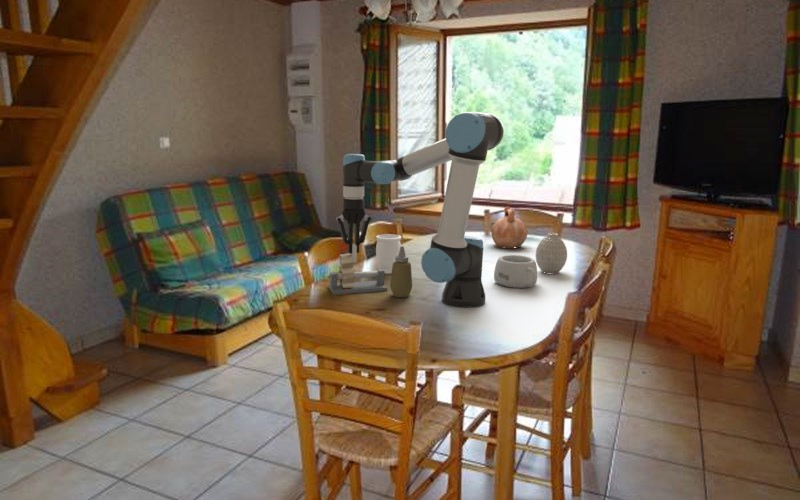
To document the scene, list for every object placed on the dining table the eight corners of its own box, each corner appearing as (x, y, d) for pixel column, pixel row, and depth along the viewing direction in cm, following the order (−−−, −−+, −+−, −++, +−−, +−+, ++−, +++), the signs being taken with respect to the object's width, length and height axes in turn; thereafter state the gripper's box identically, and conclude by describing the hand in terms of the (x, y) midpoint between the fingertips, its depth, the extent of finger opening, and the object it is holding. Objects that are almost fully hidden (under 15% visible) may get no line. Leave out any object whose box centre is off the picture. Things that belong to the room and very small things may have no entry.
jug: (530, 250, 279) (532, 210, 275) (493, 250, 279) (495, 210, 275) (522, 243, 297) (525, 205, 293) (488, 242, 297) (490, 204, 293)
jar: (397, 275, 229) (398, 239, 226) (373, 273, 231) (373, 237, 228) (402, 269, 239) (403, 234, 236) (379, 267, 241) (379, 233, 238)
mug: (485, 279, 226) (486, 255, 224) (520, 276, 232) (521, 252, 230) (516, 294, 207) (518, 268, 205) (553, 290, 213) (555, 264, 211)
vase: (528, 272, 239) (531, 233, 235) (543, 266, 248) (546, 229, 245) (556, 278, 231) (559, 238, 227) (570, 272, 240) (574, 233, 236)
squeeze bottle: (404, 300, 197) (406, 250, 193) (385, 296, 202) (386, 247, 198) (416, 294, 204) (417, 246, 200) (397, 290, 208) (398, 243, 204)
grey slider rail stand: (387, 290, 208) (387, 273, 207) (333, 294, 202) (333, 277, 200) (379, 283, 217) (379, 266, 216) (327, 287, 211) (327, 270, 209)
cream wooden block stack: (354, 287, 205) (354, 257, 203) (343, 288, 204) (343, 257, 202) (349, 282, 212) (349, 253, 209) (338, 282, 210) (338, 253, 208)
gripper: (368, 196, 207) (367, 258, 212) (333, 196, 203) (333, 260, 208) (374, 198, 200) (373, 263, 206) (338, 199, 196) (338, 265, 201)
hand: (353, 261), depth 207 cm, fingers closed
